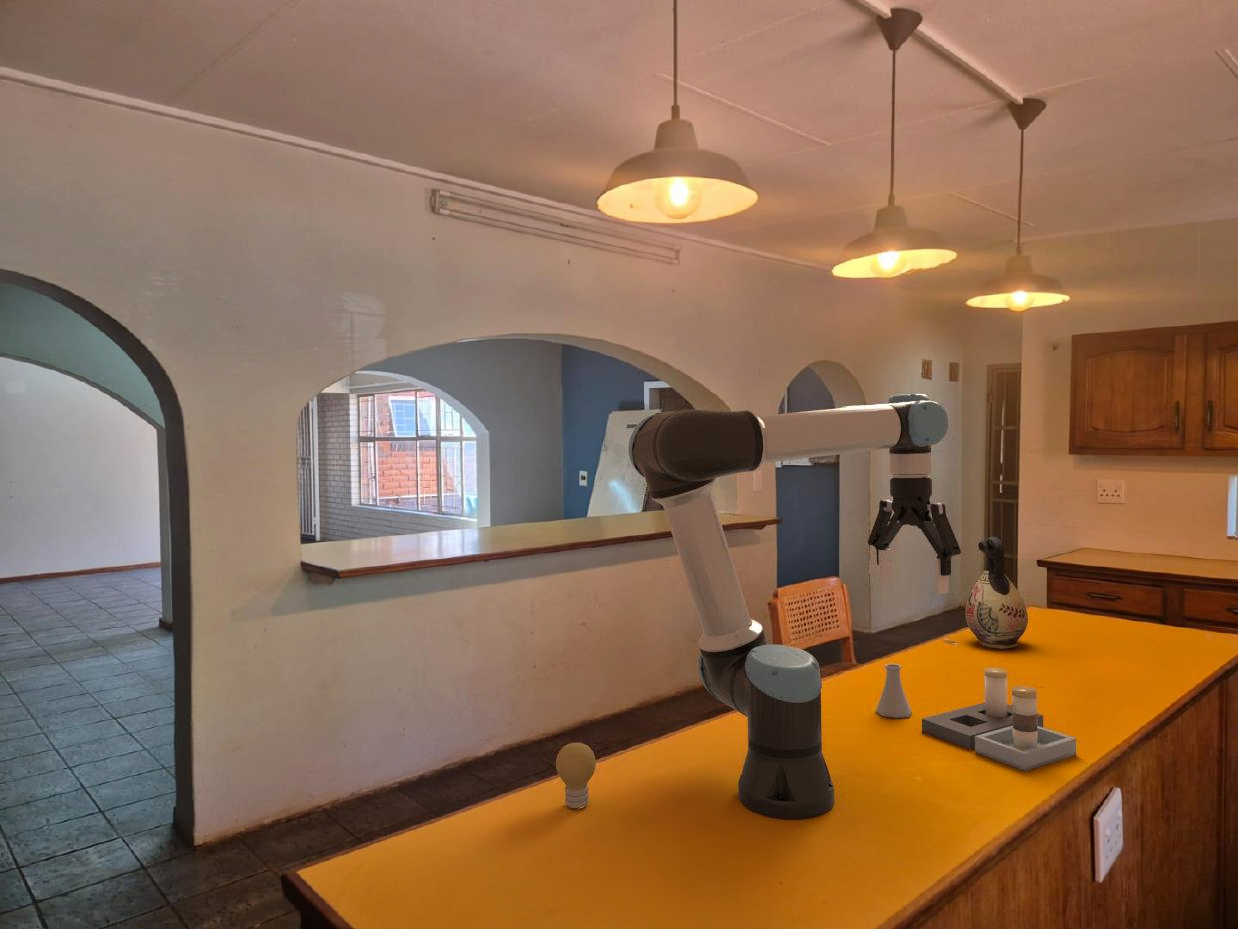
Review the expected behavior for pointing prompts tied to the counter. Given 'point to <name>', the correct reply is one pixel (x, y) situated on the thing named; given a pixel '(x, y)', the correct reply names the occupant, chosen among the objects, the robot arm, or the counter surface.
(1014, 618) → the ceramic jug
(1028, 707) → the cylinder
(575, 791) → the light bulb
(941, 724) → the block
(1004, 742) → the parts tray
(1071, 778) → the counter surface
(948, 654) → the counter surface
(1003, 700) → the cylinder
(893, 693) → the flask
